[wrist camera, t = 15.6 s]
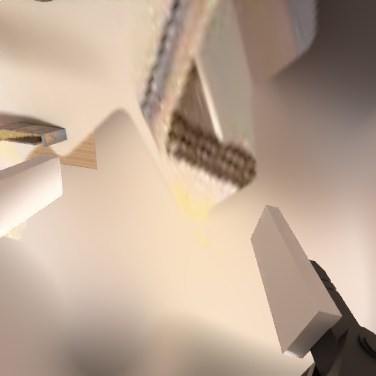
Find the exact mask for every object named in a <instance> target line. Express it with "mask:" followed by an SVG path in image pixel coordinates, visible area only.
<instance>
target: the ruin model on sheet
mask: <svg viewBox="0 0 376 376" xmlns="http://www.w3.org/2000/svg"><path fill="white" fill-rule="evenodd" d="M3 140H4V141H11V142H17V143H24V144H31V145H38V144H39V145H38V146H36V148H34V149H33V151H31V153H30V154H29V155H28V156H27V157H26V159H33V158H36V157H39V156H41V155H44V154H47V153H48V154H53V155H57V156H59V157H60V164H64V165H71V166H77V167H84V168H90V169H97V160H96V149H95V138H94V130H93V131H92V132H91V133H90V134H89V135H88V136H87V137H86V138H84V140H83V141H81V142H80V144H78V145H77V146H76V147H75V148H74V149H73V150H72V151H71V152H70V153H68V154H67V155H65V156H60V155H58V154H56V153H55V151H54V150H53V149H52V148H51V147H50V146H49V145H52V144H55V143H58V142H61V141H64V140H67V137H66V130H65V129H63V128H56V127H49V126H42V125H36V124H29V123H22V122H18V123H12V124H5V125H0V142H1V141H3Z"/></svg>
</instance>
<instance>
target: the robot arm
mask: <svg viewBox="0 0 376 376" xmlns="http://www.w3.org/2000/svg"><path fill="white" fill-rule="evenodd" d="M36 1H41V2H47V1H52V0H36ZM62 194H63V192H62V180H61V170H60V157H59V156H57V155H53V154H48V153H47V154H44V155H41V156H39V157H36V158H33V159H31V160H28V161H25V162H22V163H20V164H17V165H14V166H12V167H9V168H6V169H4V170H1V171H0V237H2V236H3V235H5V234H6V233H8V232H9V231H11V230H12V229H13V228H15V227H16V226H18V225H19V224H21V223H22V222H24V221H25V220H26V219H28V218H29V217H31V216H32V215H34V214H35V213H36V212H38V211H39V210H41V209H42V208H44V207H45V206H47V205H48V204H49V203H51V202H52V201H54V200H55V199H57V198H58V197H60V196H61V195H62ZM251 242H252V245H253V249H254V252H255V256H256V259H257V263H258V267H259V270H260V274H261V278H262V281H263V285H264V288H265V292H266V296H267V299H268V303H269V306H270V310H271V314H272V317H273V321H274V324H275V328H276V332H277V335H278V339H279V342H280V346H281V350H282V353H283V354H285V355H289V356H293V357H298V358H303V357H304V356H305V355H306V354H307V353H308V352H309V351H311V354H312V356H313V358H314V361H315V362H314V363H313V364H312V365H311V366H310V367H309V368H308V369H307V370H306V371H305V372H304V373H303V374H302V375H301V376H376V335H375V334H374V333H373V332H371V331H369V330H368V329H366V328H364V327H361V326H360V325H359V324H358V322H357V321H356V319H355V318H354V316H353V314H352V313H351V311H350V310H349V308H348V307H347V305H346V304H345V302H344V301H343V299H342V297H341V296H340V294H339V293H338V292H337V291H336V288H335V286H334V285H333V283H331V280H330V279H329V277H328V276H327V274H326V272H325V271H324V270H323V269H322V268H321V267H320V266H319V265H318V264H317V263H316V262H315V261H312V260H309V259H308V258H307V256H306V254H305V252H304V251H303V249H302V247H301V245H300V244H299V242H298V240H297V239H296V237H295V235H294V234H293V232H292V230H291V229H290V227H289V225H288V224H287V222H286V220H285V218H284V217H283V215H282V214H281V212H280V210H279V208H277V207H273V206H269V205H266V206H265V208H264V211H263V213H262V215H261V217H260V219H259V221H258V224H257V226H256V228H255V230H254V233H253V235H252V237H251Z"/></svg>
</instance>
